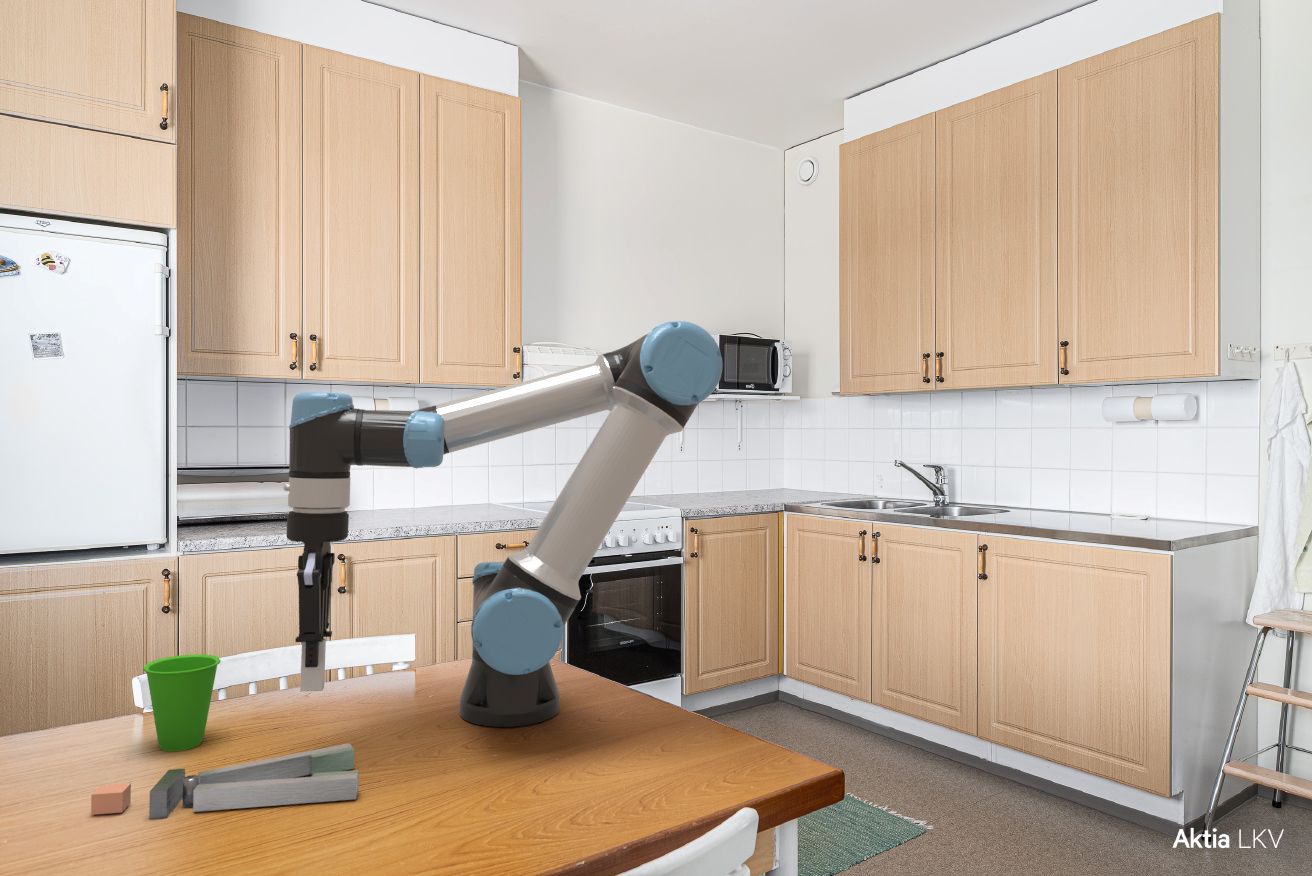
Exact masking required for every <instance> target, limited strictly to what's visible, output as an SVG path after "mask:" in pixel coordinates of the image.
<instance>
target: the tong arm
mask: <svg viewBox="0 0 1312 876" xmlns="http://www.w3.org/2000/svg"><path fill="white" fill-rule="evenodd" d="M354 768H355V748H354V747H353V746H352V745H351V743H343V744H339V745H338V744H337V745H333V746H328V747H323V748H317V749H312V750H306V751H303V752H302V751H301V752H296V753H291V754H287V755H285V754H284V755H281V756H275V757H270V758H265V759H260V760H259V759H258V760H255V761H250V762H243V763H239V764H235V765H230V766H229V765H228V766H222V767H218V768H213V769H207V770H203V771H198V773H197V775H198V776H199V785H203V784H217V783H231V782H245V781H259V780H273V779H287V778H300V777H304V776H309V775H310V777H312V776H313V773H325V772H339V771H349V770H353V769H354Z"/></svg>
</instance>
